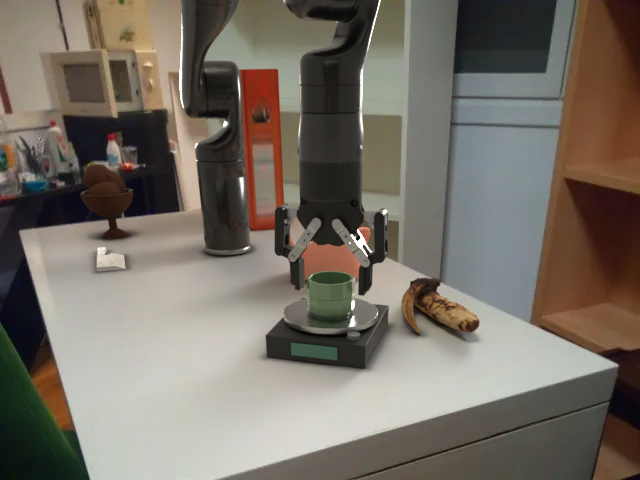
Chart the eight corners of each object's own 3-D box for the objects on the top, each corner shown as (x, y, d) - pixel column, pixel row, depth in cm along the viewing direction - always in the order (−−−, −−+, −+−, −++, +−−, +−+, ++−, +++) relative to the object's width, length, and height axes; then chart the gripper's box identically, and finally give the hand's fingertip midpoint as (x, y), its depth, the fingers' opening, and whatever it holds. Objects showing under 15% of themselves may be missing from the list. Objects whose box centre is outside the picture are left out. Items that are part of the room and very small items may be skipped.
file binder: (251, 230, 137) (241, 68, 120) (237, 215, 151) (226, 69, 134) (285, 228, 139) (279, 68, 122) (268, 213, 153) (261, 69, 137)
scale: (302, 316, 89) (301, 293, 87) (387, 325, 85) (389, 301, 84) (265, 357, 76) (264, 331, 74) (364, 369, 73) (365, 342, 71)
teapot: (384, 278, 105) (387, 223, 100) (290, 293, 98) (288, 234, 93) (352, 261, 114) (353, 210, 109) (265, 273, 108) (262, 219, 103)
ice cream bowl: (126, 242, 128) (113, 167, 120) (79, 240, 130) (63, 166, 122) (148, 231, 137) (137, 160, 129) (104, 229, 139) (90, 160, 131)
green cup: (315, 301, 82) (314, 269, 80) (358, 305, 81) (359, 272, 78) (301, 316, 77) (300, 282, 75) (347, 321, 76) (347, 286, 73)
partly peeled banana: (376, 307, 93) (431, 348, 78) (376, 278, 91) (433, 314, 76) (429, 298, 95) (492, 336, 81) (430, 269, 93) (496, 303, 78)
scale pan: (300, 297, 86) (300, 292, 85) (386, 305, 83) (386, 300, 82) (269, 329, 76) (269, 323, 75) (366, 339, 72) (366, 333, 72)
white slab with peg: (123, 250, 123) (122, 244, 122) (125, 270, 111) (124, 264, 110) (98, 251, 122) (97, 246, 121) (96, 272, 109) (95, 266, 109)
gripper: (397, 153, 70) (389, 287, 79) (284, 150, 74) (288, 278, 82) (384, 161, 64) (378, 305, 73) (262, 158, 68) (269, 295, 76)
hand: (330, 291), depth 77 cm, fingers open, 8 cm apart
